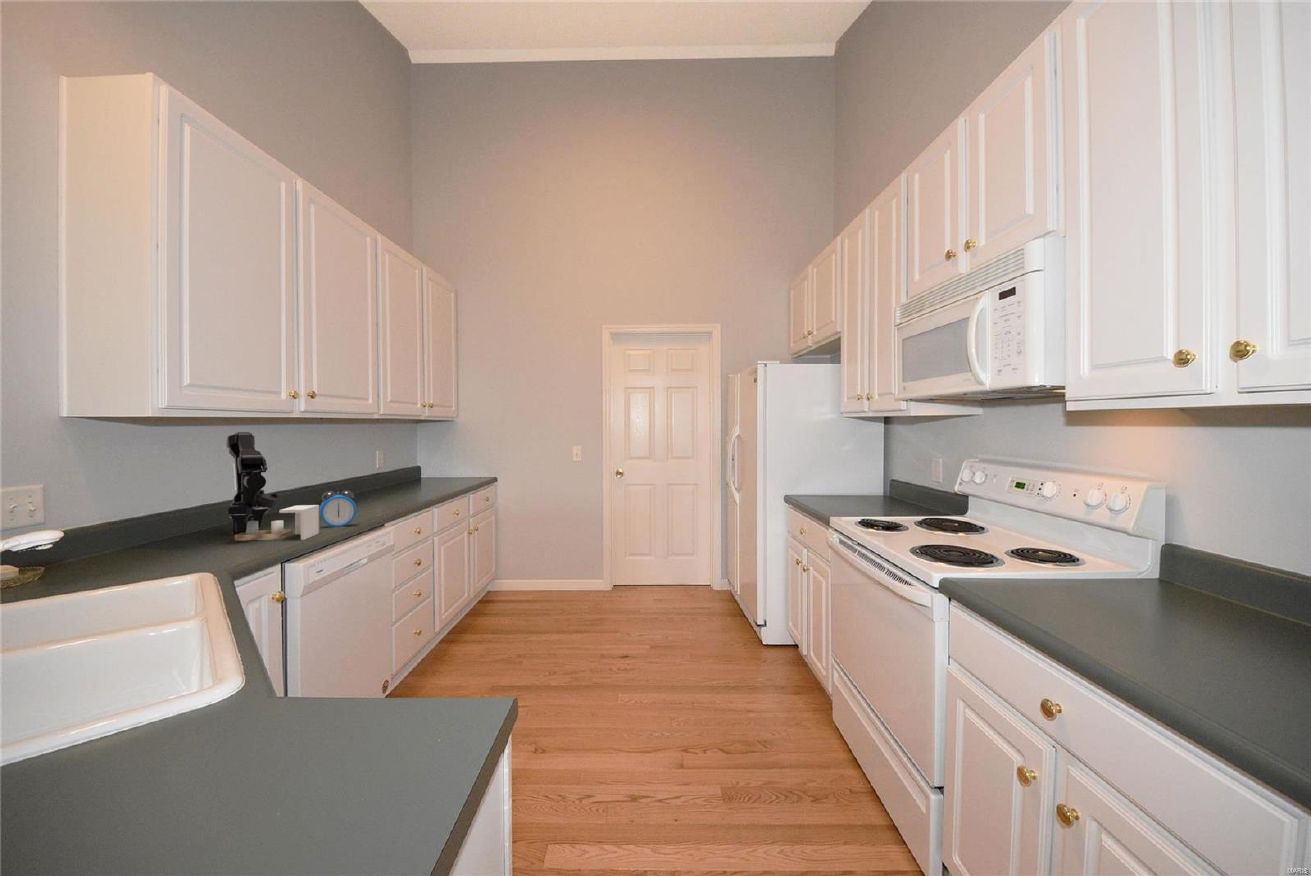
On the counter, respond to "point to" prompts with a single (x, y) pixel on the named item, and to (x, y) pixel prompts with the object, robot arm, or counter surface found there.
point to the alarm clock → (337, 509)
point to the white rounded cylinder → (277, 527)
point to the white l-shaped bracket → (305, 519)
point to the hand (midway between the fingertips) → (251, 530)
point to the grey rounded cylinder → (252, 528)
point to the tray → (263, 535)
